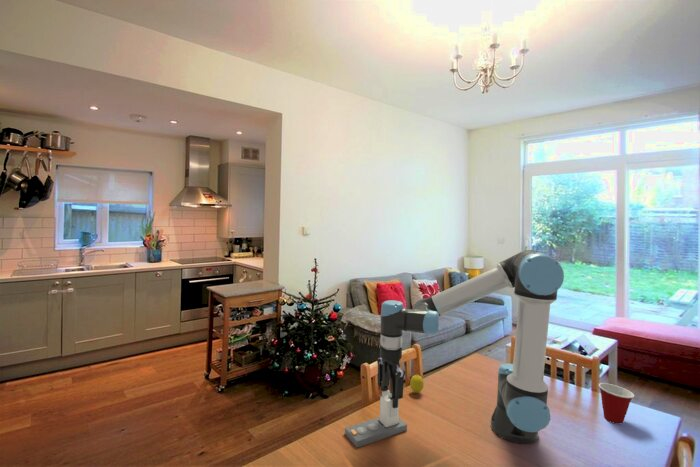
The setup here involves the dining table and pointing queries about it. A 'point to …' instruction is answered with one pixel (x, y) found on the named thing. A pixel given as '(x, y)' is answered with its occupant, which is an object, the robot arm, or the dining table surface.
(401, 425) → the power strip
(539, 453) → the dining table surface
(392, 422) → the block
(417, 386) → the lemon
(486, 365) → the dining table surface
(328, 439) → the dining table surface
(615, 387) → the plastic cup
